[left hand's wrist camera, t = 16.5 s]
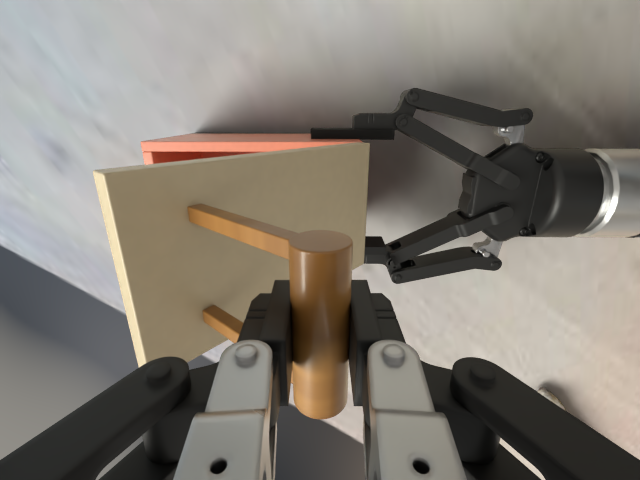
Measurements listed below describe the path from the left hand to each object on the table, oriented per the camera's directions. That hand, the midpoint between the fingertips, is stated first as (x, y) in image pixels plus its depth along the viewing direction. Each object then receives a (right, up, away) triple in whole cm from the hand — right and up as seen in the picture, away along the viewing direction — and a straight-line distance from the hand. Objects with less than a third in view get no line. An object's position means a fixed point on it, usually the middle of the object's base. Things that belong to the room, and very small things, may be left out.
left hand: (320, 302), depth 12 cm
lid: (-3, +3, +7) cm, 8 cm away
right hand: (-1, +6, +17) cm, 18 cm away
